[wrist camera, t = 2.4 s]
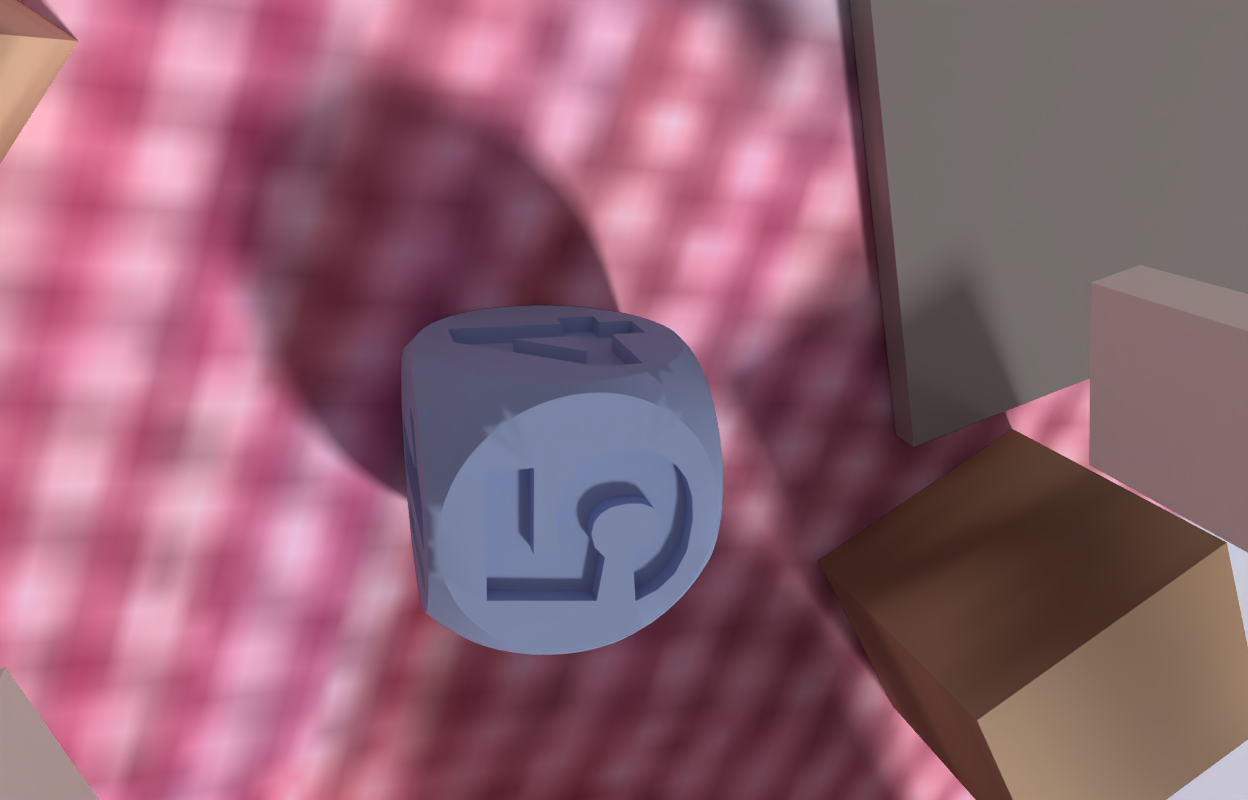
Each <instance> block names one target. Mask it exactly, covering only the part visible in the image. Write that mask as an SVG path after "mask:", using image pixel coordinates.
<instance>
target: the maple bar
mask: <svg viewBox="0 0 1248 800" xmlns="http://www.w3.org/2000/svg"><path fill="white" fill-rule="evenodd" d="M77 42H78V41H77V40H76V39H74V38H73V37H71V36H70V35H68V34H67V33H65V32H64V31H62V30H61V29H59V28H58V27H56V26H55V25H53V24H52V23H51V22H49V21H48V20H46V19H45V18H43V17H42V16H40V15H39V14H37V13H36V12H34V11H33V10H31V9H30V8H28V7H27V6H25V5H24V4H22V3H21V2H19V1H18V0H0V163H1V162H2V160H3V158H4V157H5V155H6V154H7V152H8V151H9V149H10V147H11V146H12V144H13V143H14V141H15V140H16V138H17V136H18V135H19V133H20V132H21V130H22V129H23V127H24V125H25V124H26V122H27V121H28V119H29V118H30V116H31V114H32V113H33V111H34V110H35V108H36V107H37V105H38V103H39V102H40V100H41V99H42V97H43V96H44V94H45V92H46V91H47V89H48V88H49V86H50V85H51V83H52V82H53V80H54V78H55V77H56V75H57V74H58V72H59V71H60V69H61V67H62V66H63V64H64V63H65V61H66V60H67V58H68V56H69V55H70V53H71V52H72V50H73V49H74V47H75V45H76V44H77Z"/></svg>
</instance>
